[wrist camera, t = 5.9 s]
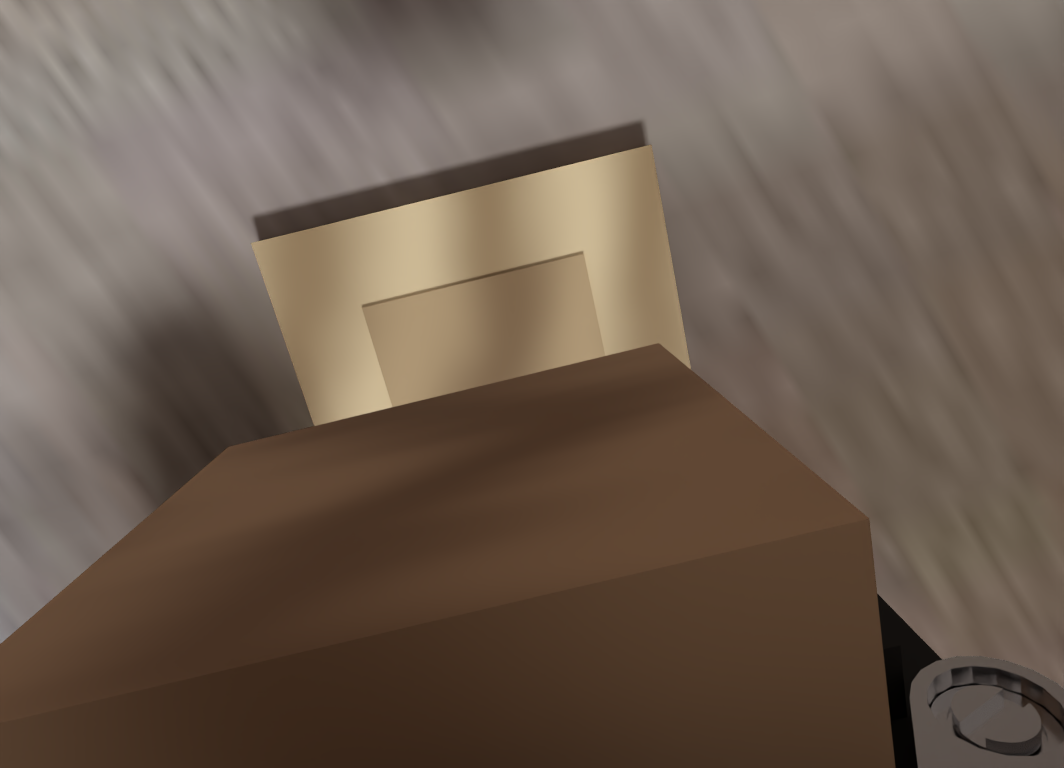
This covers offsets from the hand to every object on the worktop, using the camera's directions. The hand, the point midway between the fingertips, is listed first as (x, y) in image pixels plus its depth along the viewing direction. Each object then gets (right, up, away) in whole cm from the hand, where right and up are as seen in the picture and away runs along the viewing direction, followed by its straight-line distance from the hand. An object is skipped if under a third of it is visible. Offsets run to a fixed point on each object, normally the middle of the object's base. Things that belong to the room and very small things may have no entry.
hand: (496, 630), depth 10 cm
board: (-1, +4, +15) cm, 15 cm away
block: (0, 0, +1) cm, 1 cm away
